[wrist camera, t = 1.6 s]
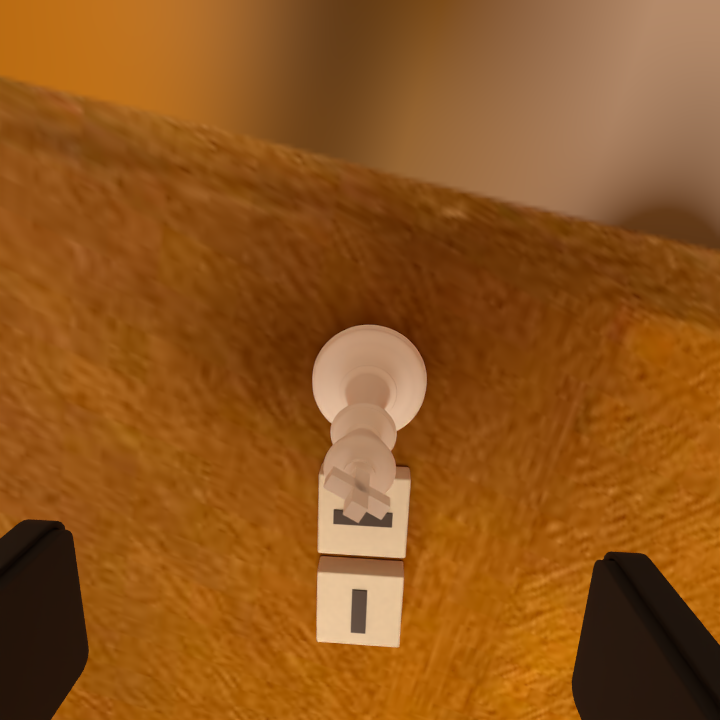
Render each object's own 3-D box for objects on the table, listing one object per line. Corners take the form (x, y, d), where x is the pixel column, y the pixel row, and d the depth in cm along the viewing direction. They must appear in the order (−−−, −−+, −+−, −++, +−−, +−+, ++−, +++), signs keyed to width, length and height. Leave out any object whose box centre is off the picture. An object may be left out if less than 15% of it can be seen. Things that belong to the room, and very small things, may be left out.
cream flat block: (322, 461, 22) (318, 475, 21) (409, 466, 22) (411, 481, 21) (319, 622, 25) (315, 643, 23) (398, 628, 25) (399, 650, 23)
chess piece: (388, 451, 22) (389, 630, 12) (292, 397, 21) (216, 538, 12) (449, 362, 21) (503, 483, 11) (348, 302, 20) (314, 374, 11)
